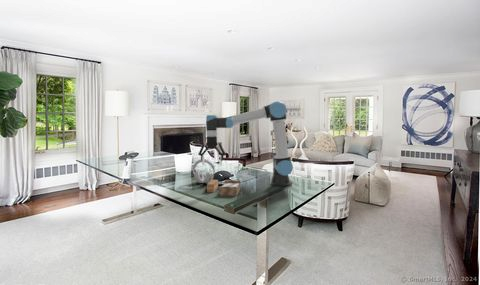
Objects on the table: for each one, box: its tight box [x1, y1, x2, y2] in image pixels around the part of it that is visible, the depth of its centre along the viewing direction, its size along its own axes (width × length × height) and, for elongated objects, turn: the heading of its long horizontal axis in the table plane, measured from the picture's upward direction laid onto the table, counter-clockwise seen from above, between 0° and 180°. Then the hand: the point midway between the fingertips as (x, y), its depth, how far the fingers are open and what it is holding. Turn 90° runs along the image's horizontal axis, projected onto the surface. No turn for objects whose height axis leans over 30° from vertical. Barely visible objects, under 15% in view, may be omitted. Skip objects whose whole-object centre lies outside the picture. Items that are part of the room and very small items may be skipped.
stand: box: [218, 179, 241, 197], centre depth 191 cm, size 12×20×6 cm, turn 171°
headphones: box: [192, 158, 216, 184], centre depth 216 cm, size 18×10×20 cm, turn 79°
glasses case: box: [206, 179, 219, 193], centre depth 197 cm, size 5×14×6 cm, turn 172°
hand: (212, 164), depth 195 cm, fingers open, 13 cm apart
